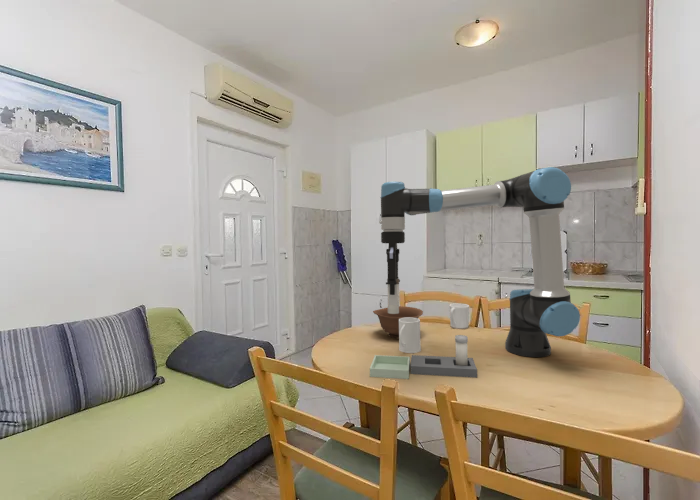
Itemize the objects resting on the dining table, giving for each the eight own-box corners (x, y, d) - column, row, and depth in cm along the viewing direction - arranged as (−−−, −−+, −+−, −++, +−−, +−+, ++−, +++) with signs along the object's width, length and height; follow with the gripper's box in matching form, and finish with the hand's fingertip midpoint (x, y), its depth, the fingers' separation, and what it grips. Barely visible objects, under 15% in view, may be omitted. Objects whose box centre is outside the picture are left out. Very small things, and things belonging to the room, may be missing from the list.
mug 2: (456, 323, 169) (456, 302, 169) (473, 326, 162) (472, 305, 162) (443, 327, 162) (442, 306, 162) (460, 331, 155) (459, 308, 155)
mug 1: (408, 358, 124) (407, 325, 123) (389, 353, 129) (388, 322, 129) (425, 349, 132) (424, 319, 132) (406, 345, 138) (406, 316, 138)
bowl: (366, 331, 160) (365, 308, 159) (409, 326, 166) (408, 304, 166) (385, 345, 139) (384, 318, 138) (433, 339, 145) (432, 313, 145)
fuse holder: (472, 366, 115) (472, 332, 114) (477, 379, 105) (476, 342, 104) (411, 363, 119) (411, 330, 118) (410, 375, 109) (410, 339, 108)
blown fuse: (399, 311, 113) (399, 278, 112) (398, 314, 109) (398, 279, 109) (388, 311, 114) (387, 278, 113) (386, 313, 110) (386, 279, 109)
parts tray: (410, 365, 117) (409, 356, 117) (408, 380, 105) (408, 370, 105) (375, 363, 119) (374, 355, 119) (369, 378, 108) (369, 368, 108)
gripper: (384, 231, 119) (384, 298, 120) (377, 230, 103) (378, 308, 104) (405, 231, 118) (406, 298, 119) (403, 230, 101) (403, 309, 102)
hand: (393, 303), depth 111 cm, fingers closed on blown fuse, 4 cm apart
